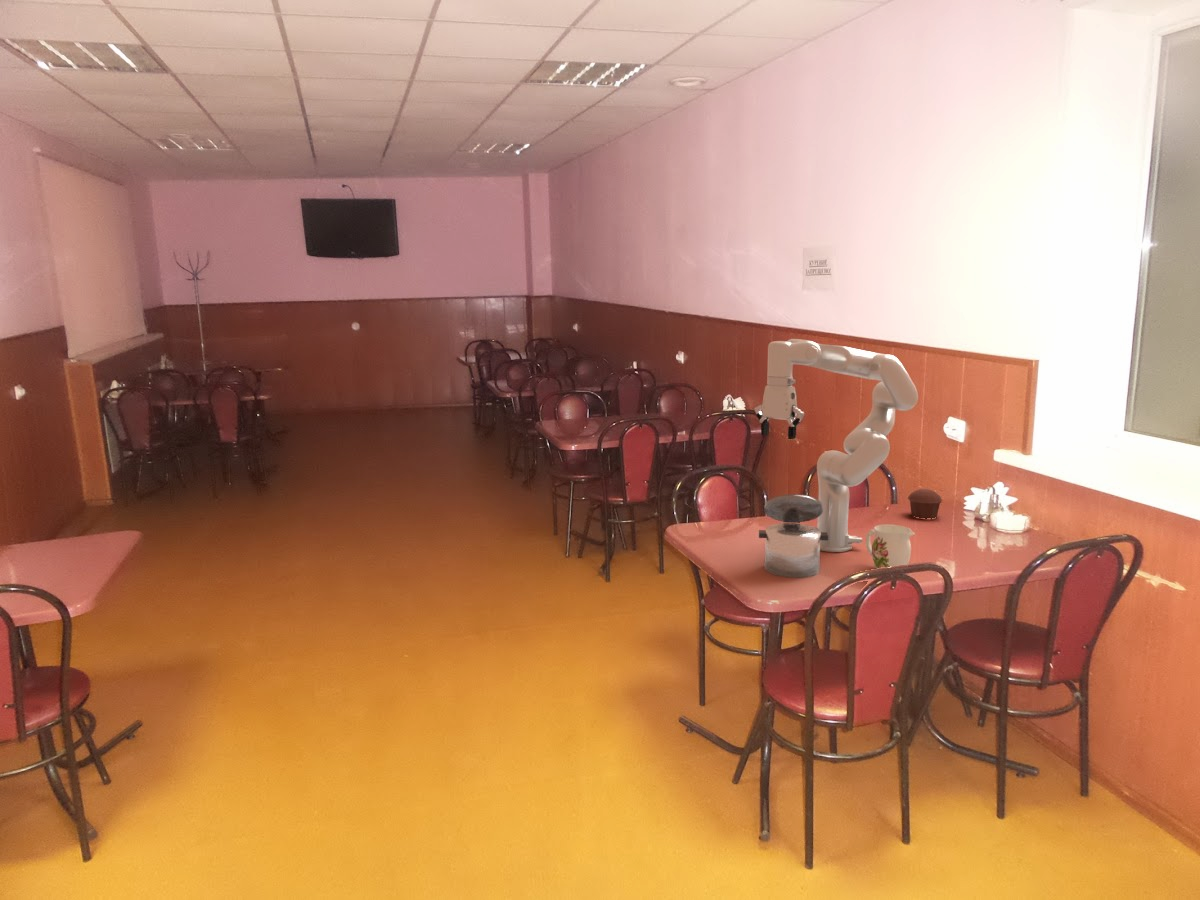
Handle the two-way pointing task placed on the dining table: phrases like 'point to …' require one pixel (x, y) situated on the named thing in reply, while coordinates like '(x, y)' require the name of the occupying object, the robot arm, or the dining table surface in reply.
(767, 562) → the cooker pot
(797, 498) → the lid
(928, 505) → the muffin
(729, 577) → the dining table surface
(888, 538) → the pitcher
